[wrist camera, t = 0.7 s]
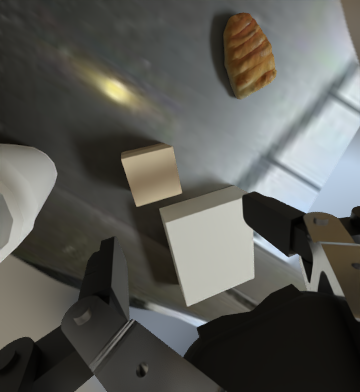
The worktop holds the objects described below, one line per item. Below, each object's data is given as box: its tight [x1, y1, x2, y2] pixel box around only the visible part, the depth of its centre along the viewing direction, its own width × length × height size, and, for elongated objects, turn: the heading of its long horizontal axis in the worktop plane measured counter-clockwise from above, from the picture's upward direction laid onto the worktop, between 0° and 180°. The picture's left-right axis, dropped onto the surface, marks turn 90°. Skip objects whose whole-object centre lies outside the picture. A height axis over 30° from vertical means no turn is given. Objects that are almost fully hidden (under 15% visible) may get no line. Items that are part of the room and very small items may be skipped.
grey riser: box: [159, 186, 254, 307], centre depth 32 cm, size 18×14×5 cm
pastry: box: [223, 13, 277, 99], centre depth 24 cm, size 9×7×4 cm
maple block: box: [121, 143, 182, 207], centre depth 24 cm, size 6×6×6 cm
